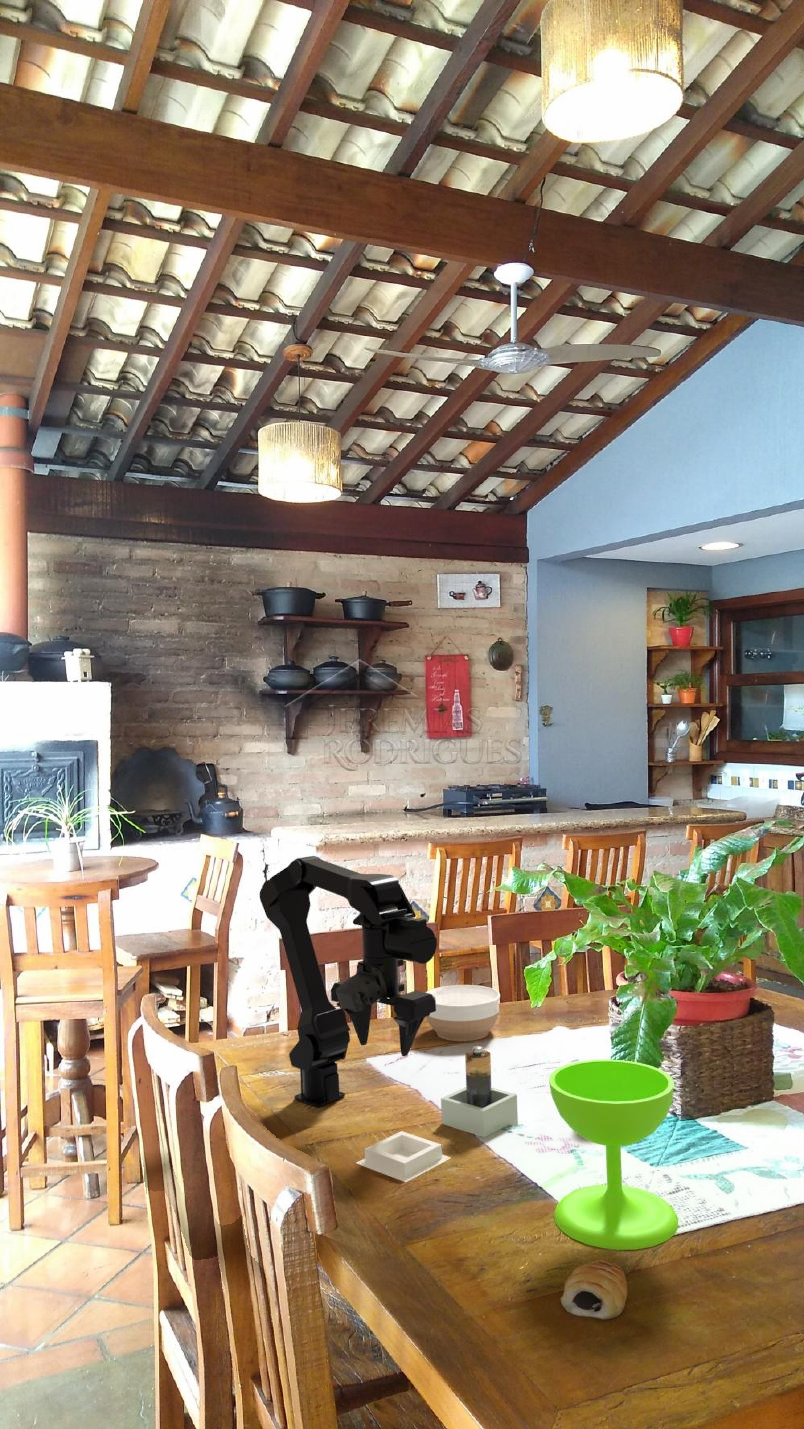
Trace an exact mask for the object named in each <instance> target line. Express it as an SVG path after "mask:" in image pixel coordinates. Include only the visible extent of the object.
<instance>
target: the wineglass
mask: <svg viewBox="0 0 804 1429" xmlns="http://www.w3.org/2000/svg"><path fill="white" fill-rule="evenodd" d="M548 1084H549V1088H550V1093H551V1098H552V1101H553V1103H554V1105H555V1107H556V1109H557V1111H558V1114H559V1116H560V1117H561V1118H562V1119H563V1121H564V1122H565V1123H566V1124H567V1126H568V1127H569V1128H571V1130H573V1132H574V1133H576V1134H577V1135H579V1136H581V1137H583V1138H584V1139H585V1140H587V1141H588V1142H591V1143H595V1144H597V1145H602V1146H605V1161H606V1184H596V1185H591V1186H585V1187H582V1188H578V1189H576V1190H573V1191H571V1192H569V1193H568V1194H566V1195H565V1196H563V1197H562V1199H561V1200H560V1201H559V1202H558V1203H557V1205H556V1207H555V1210H554V1214H553V1219H554V1222H555V1225H556V1226H557V1227H558V1228H559V1229H560V1230H561V1231H562V1233H563V1234H565V1235H566V1236H568V1237H570V1238H572V1239H573V1240H575V1241H577V1242H580V1243H583V1244H585V1245H588V1246H591V1247H596V1248H601V1249H609V1250H618V1251H619V1250H620V1251H624V1250H625V1251H628V1250H629V1251H630V1250H631V1251H632V1250H641V1249H647V1248H652V1247H656V1246H658V1245H662V1244H663V1243H665V1242H667V1241H668V1240H670V1239H671V1238H672V1237H673V1236H675V1234H676V1233H677V1231H678V1230H679V1227H680V1226H679V1225H678V1220H680V1219H679V1217H678V1214H677V1212H676V1210H674V1207H673V1206H672V1205H670V1204H669V1203H668V1202H667V1201H666V1200H665V1199H664V1198H663V1197H661V1196H658V1195H657V1194H655V1193H654V1192H651V1191H648V1190H644V1189H643V1188H638V1187H633V1186H630V1185H623V1180H622V1173H623V1172H622V1149H621V1147H625V1146H632V1145H634V1144H638V1143H639V1142H641V1141H643V1140H644V1139H646V1138H648V1137H649V1136H651V1135H652V1134H654V1133H655V1132H656V1130H657V1129H659V1127H660V1126H661V1125H662V1123H663V1122H664V1121H665V1119H666V1118H667V1116H668V1114H669V1113H670V1112H669V1111H670V1109H671V1106H672V1104H673V1097H674V1088H675V1086H674V1084H675V1080H674V1079H673V1077H672V1076H671V1075H670V1074H668V1072H665V1071H664V1070H662V1069H660V1068H657V1067H655V1066H652V1065H651V1064H650V1065H649V1064H644V1063H642V1062H639V1061H638V1062H637V1061H636V1062H635V1061H630V1060H623V1059H622V1060H621V1059H590V1060H583V1061H577V1062H572V1063H568V1064H564V1065H562V1066H560V1067H558V1068H556V1069H554V1071H552V1072H551V1073H550V1075H549V1078H548ZM677 1229H678V1230H677Z"/></svg>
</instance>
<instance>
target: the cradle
mask: <svg viewBox="0 0 804 1429" xmlns="http://www.w3.org/2000/svg"><path fill="white" fill-rule="evenodd" d="M442 1148H443V1146H442V1144H441V1143H438V1142H435V1141H432V1140H429V1139H426V1138H424V1137H420V1136H417V1135H415V1134H412V1133H408V1132H405V1131H403V1130H401V1131H399V1132H396V1133H395V1134H392V1135H391V1136H388V1137H387V1138H384V1139H382V1140H381V1141H378V1142H376V1143H373V1144H371V1145H370V1146H368V1147H366V1148H364V1158H362V1159H361V1160H359V1161H357V1162H355V1164H357V1165H360V1166H362V1167H365V1168H367V1169H370V1170H372V1171H375V1172H378V1173H379V1174H383V1175H385V1176H389V1178H390V1177H391V1178H393V1179H396V1180H398V1181H401V1182H403V1183H407V1182H410V1181H411V1180H413V1179H416V1178H417V1177H418V1176H421V1175H422V1174H424V1173H426V1172H428V1171H430V1170H432V1169H434V1168H436V1167H438V1166H439V1165H441V1164H443V1163H446V1161H449V1160H451V1159H452V1157H451V1156H449V1155H444V1154H443V1151H442V1150H443V1149H442Z"/></svg>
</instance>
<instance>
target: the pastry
mask: <svg viewBox="0 0 804 1429" xmlns="http://www.w3.org/2000/svg"><path fill="white" fill-rule="evenodd" d="M563 1286H564V1288H563V1294H562V1296H561V1297H560V1302H561V1306H563V1308H564V1309H565V1311H566V1312H568V1313H570V1314H571V1315H574V1316H578V1317H584V1318H594V1319H598V1320H609V1319H610V1320H611V1319H615V1318H616V1317H618V1316H620V1315H621V1314H622V1313H623V1311H624V1308H625V1306H626V1300H627V1297H628V1283H627V1279H626V1273H625V1271H624V1269H623V1268H622V1267H621V1266H620V1265H618V1264H615V1263H613V1262H609V1261H608V1260H606V1259H596V1260H594V1261H592V1262H586V1263H585V1264H581V1265H579V1266H578V1267H575V1269H574V1270H573V1271H572V1273H571V1275H569V1276H567V1278H566V1279H565V1282H564V1285H563Z"/></svg>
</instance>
